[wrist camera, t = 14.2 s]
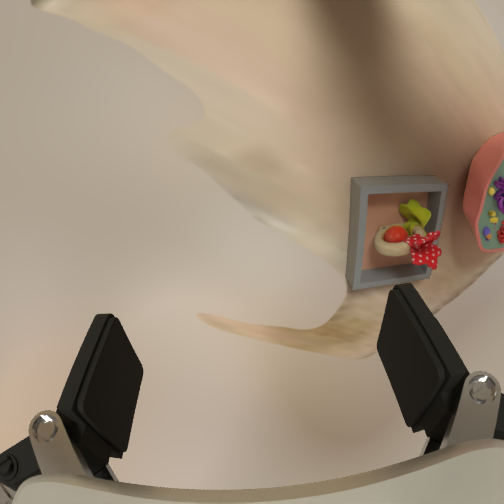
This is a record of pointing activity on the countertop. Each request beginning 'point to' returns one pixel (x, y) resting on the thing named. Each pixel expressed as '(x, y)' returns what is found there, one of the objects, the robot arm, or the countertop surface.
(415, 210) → the bird rattle
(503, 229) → the cell model
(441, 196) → the grey picture frame
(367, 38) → the countertop surface
